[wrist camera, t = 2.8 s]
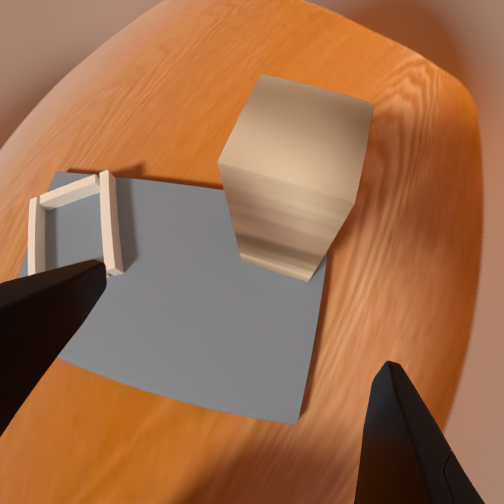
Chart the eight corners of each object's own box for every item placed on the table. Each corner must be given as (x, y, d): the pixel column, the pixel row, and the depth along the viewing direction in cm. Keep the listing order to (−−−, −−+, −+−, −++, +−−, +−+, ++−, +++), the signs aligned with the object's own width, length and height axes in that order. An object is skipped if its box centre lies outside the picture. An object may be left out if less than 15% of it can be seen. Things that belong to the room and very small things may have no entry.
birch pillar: (307, 282, 21) (354, 203, 10) (241, 260, 22) (217, 162, 10) (325, 220, 22) (374, 104, 11) (263, 201, 23) (261, 74, 12)
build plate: (295, 421, 19) (296, 425, 19) (13, 334, 22) (6, 333, 21) (330, 214, 24) (333, 208, 23) (61, 176, 26) (56, 171, 25)
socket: (123, 273, 22) (115, 268, 20) (39, 294, 22) (28, 291, 20) (115, 178, 24) (108, 169, 23) (39, 206, 24) (30, 199, 23)
